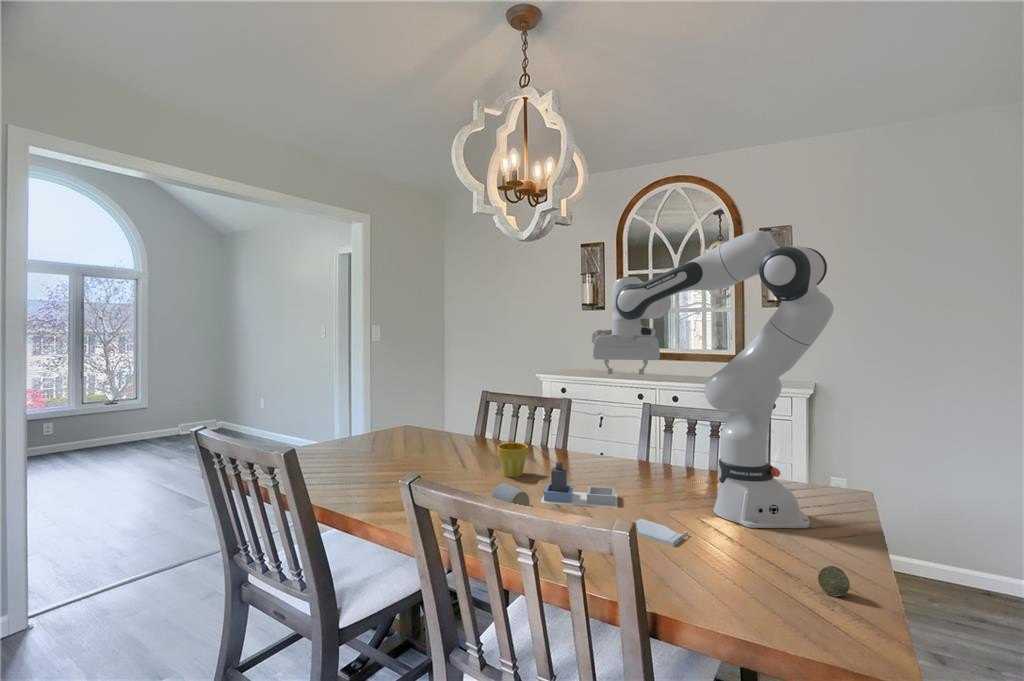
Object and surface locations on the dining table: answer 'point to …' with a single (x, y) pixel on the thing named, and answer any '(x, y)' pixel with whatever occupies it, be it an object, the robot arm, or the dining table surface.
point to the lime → (833, 581)
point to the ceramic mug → (511, 495)
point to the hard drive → (658, 532)
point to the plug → (559, 478)
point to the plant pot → (512, 458)
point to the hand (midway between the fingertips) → (625, 374)
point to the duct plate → (582, 497)
